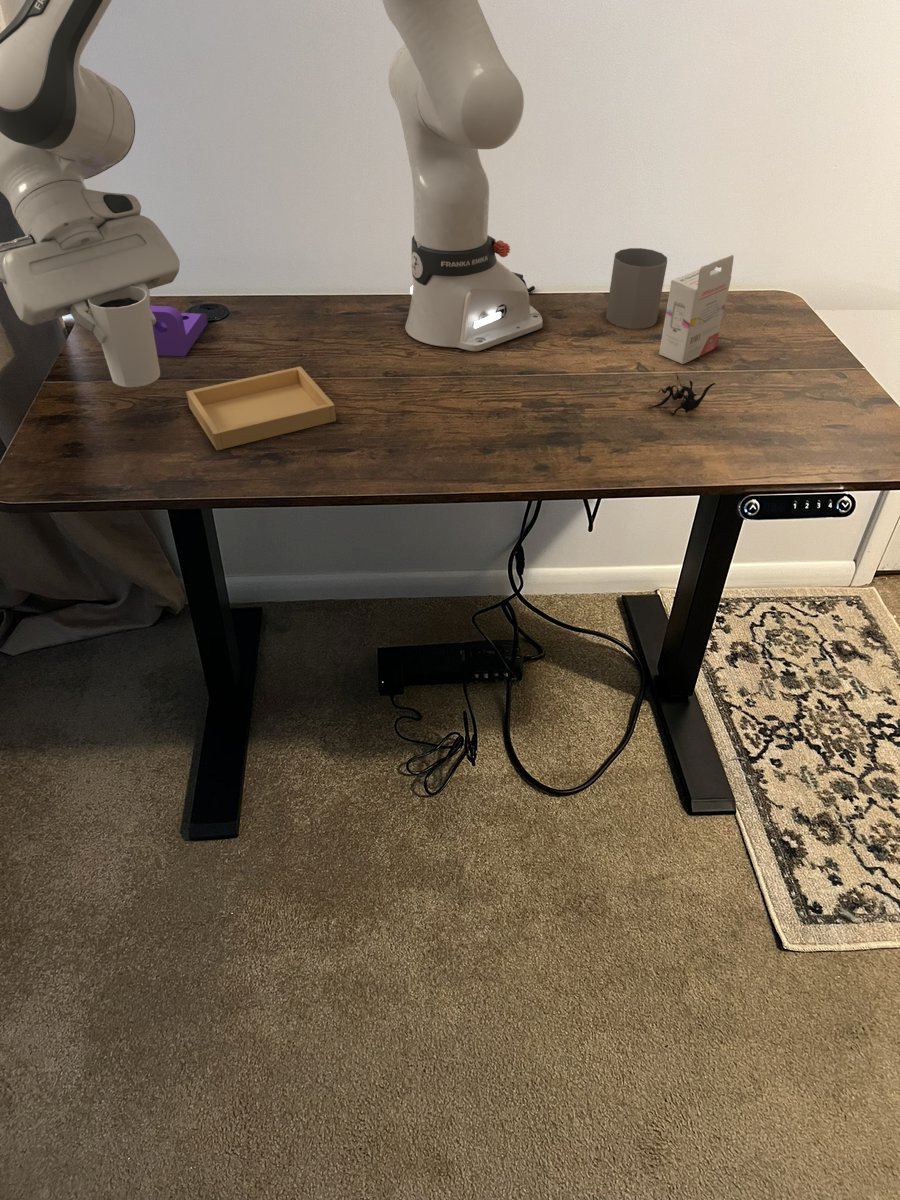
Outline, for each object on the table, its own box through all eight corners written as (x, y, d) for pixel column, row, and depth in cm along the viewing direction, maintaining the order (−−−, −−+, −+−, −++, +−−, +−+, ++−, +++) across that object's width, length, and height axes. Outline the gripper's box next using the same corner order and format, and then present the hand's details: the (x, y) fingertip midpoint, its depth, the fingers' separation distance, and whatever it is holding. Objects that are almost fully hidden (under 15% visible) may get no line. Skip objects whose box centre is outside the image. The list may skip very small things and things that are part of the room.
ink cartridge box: (690, 339, 138) (709, 245, 128) (715, 349, 135) (738, 254, 125) (656, 354, 134) (674, 258, 124) (682, 365, 131) (702, 268, 121)
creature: (637, 410, 123) (673, 424, 116) (637, 372, 120) (675, 385, 114) (680, 398, 125) (719, 411, 119) (682, 361, 123) (721, 373, 116)
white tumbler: (122, 361, 109) (102, 283, 103) (172, 366, 109) (156, 287, 102) (98, 386, 104) (76, 305, 98) (151, 391, 104) (132, 310, 97)
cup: (620, 303, 148) (629, 244, 141) (664, 316, 144) (676, 255, 138) (597, 320, 143) (605, 259, 136) (642, 333, 139) (652, 271, 132)
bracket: (184, 356, 131) (176, 312, 126) (140, 354, 131) (130, 310, 126) (207, 323, 139) (200, 281, 135) (166, 321, 140) (157, 279, 135)
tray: (302, 381, 125) (300, 365, 124) (336, 420, 117) (334, 404, 115) (189, 407, 119) (185, 391, 117) (216, 450, 111) (213, 434, 109)
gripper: (-21, 233, 92) (50, 347, 94) (147, 192, 104) (208, 295, 105) (-25, 263, 98) (43, 372, 99) (135, 222, 109) (194, 319, 111)
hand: (129, 332), depth 102 cm, fingers closed on white tumbler, 4 cm apart
